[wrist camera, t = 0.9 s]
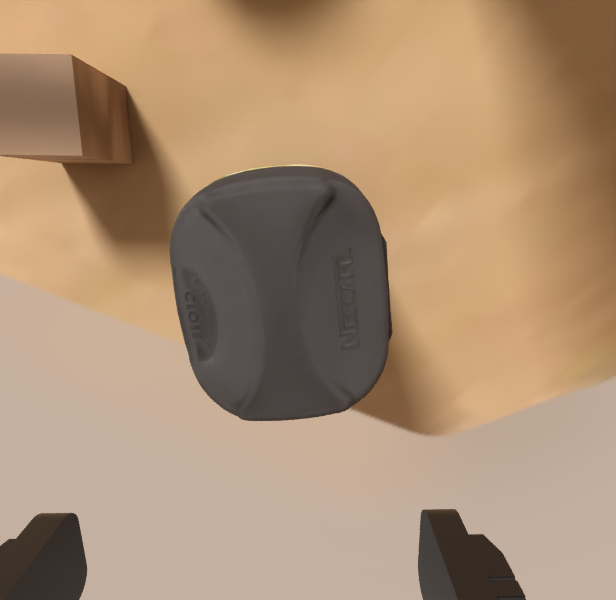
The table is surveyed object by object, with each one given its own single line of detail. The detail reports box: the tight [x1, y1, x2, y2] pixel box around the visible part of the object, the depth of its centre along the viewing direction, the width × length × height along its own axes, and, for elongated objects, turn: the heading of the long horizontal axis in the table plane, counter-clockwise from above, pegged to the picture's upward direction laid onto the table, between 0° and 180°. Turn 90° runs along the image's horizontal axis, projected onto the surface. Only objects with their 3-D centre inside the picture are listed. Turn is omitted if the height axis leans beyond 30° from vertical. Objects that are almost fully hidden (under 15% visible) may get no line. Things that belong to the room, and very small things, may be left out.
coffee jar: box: [170, 165, 392, 421], centre depth 23 cm, size 10×8×19 cm
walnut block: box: [0, 54, 132, 164], centre depth 26 cm, size 5×5×7 cm
